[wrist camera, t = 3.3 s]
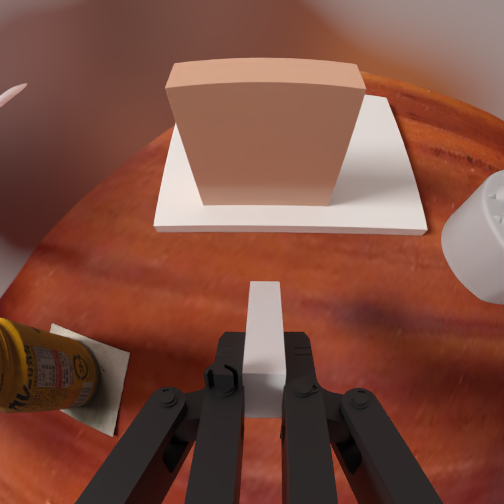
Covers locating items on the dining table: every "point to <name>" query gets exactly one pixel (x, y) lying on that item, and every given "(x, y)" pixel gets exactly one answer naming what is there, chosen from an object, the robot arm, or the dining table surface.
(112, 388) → the condiment
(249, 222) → the board
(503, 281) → the lumpy-topped squat cylinder
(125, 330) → the dining table surface
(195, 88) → the tile
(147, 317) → the dining table surface
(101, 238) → the dining table surface
